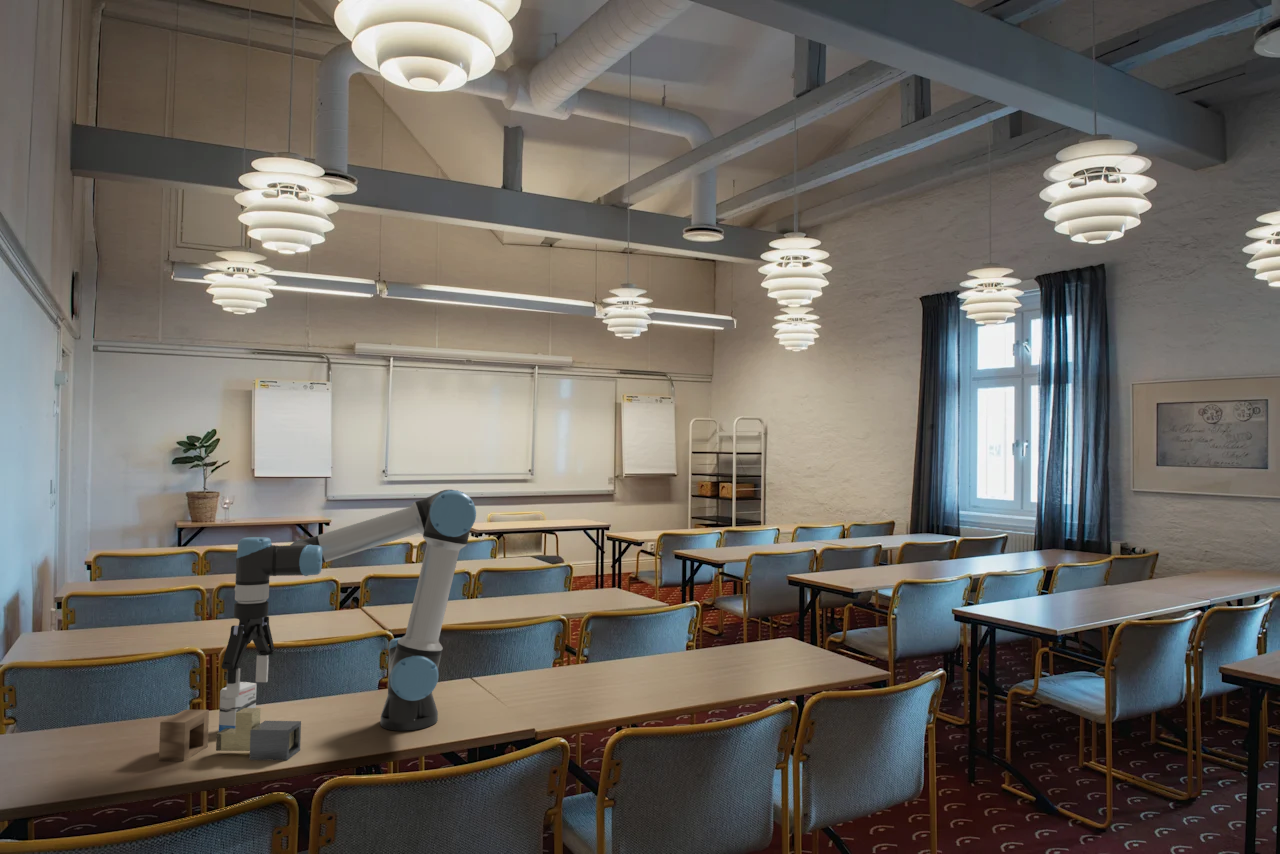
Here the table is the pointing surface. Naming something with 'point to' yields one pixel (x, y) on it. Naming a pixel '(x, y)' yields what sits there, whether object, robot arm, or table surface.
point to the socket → (183, 735)
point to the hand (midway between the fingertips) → (247, 689)
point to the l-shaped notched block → (242, 732)
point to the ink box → (235, 704)
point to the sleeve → (274, 740)
